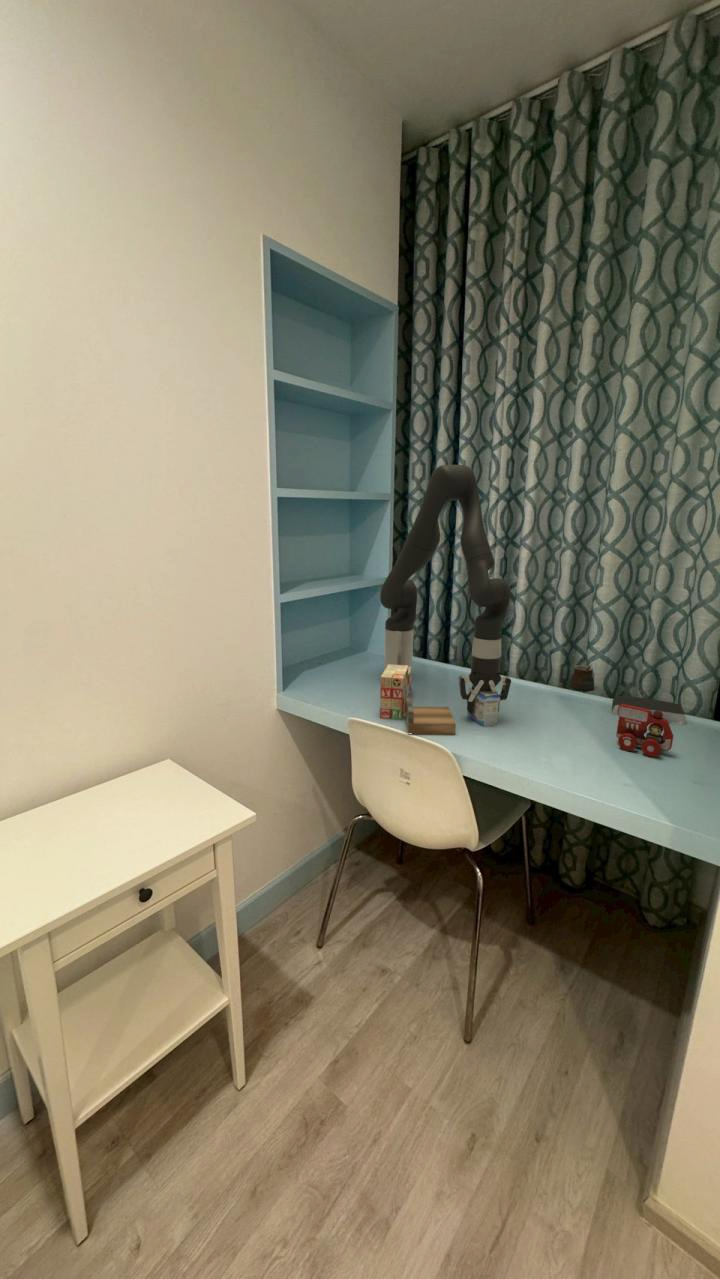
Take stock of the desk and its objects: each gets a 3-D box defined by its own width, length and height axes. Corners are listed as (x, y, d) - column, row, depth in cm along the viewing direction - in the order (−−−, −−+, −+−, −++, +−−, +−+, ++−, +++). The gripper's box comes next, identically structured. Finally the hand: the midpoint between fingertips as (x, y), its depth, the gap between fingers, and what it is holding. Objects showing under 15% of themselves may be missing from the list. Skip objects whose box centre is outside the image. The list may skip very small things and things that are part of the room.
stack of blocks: (391, 693, 168) (392, 655, 165) (411, 695, 167) (412, 657, 164) (379, 718, 148) (380, 676, 145) (402, 720, 146) (403, 677, 144)
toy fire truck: (667, 761, 123) (674, 719, 121) (610, 747, 131) (615, 707, 128) (672, 751, 129) (678, 710, 126) (616, 738, 136) (621, 699, 134)
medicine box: (466, 716, 149) (468, 687, 147) (480, 714, 151) (482, 685, 149) (483, 727, 142) (485, 696, 140) (497, 724, 144) (499, 694, 142)
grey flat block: (686, 730, 142) (688, 716, 141) (610, 718, 150) (612, 705, 149) (681, 715, 153) (683, 702, 152) (611, 704, 161) (612, 692, 160)
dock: (404, 716, 149) (405, 696, 147) (448, 717, 149) (449, 696, 147) (408, 734, 137) (408, 712, 136) (455, 734, 137) (456, 712, 135)
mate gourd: (582, 687, 176) (585, 657, 173) (599, 694, 169) (602, 663, 166) (564, 689, 173) (567, 659, 171) (580, 696, 166) (583, 665, 164)
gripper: (509, 650, 146) (505, 709, 150) (456, 650, 146) (453, 708, 150) (517, 658, 138) (512, 719, 142) (461, 657, 138) (458, 718, 142)
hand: (482, 713), depth 146 cm, fingers closed on medicine box, 5 cm apart
